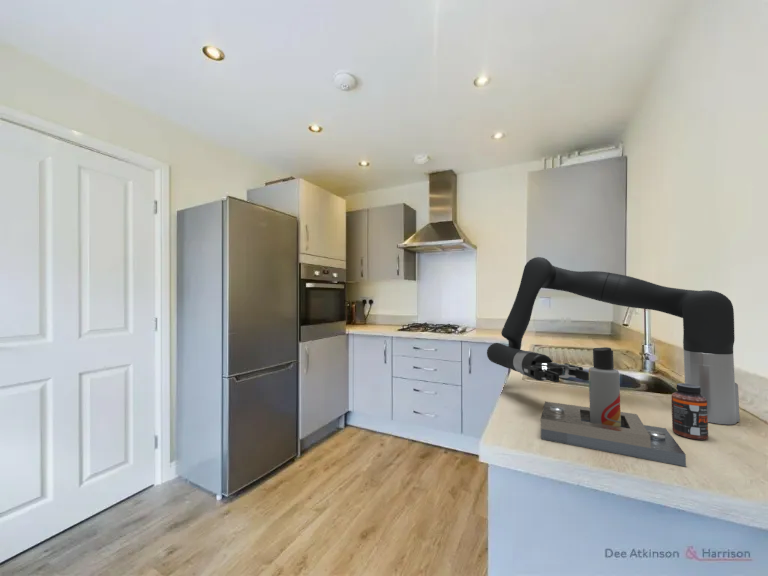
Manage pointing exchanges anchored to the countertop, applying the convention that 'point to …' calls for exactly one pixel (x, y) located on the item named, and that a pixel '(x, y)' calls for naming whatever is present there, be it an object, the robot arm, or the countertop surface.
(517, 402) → the countertop surface
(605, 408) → the lotion bottle
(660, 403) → the countertop surface
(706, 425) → the supplement bottle
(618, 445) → the bolted steel plate
